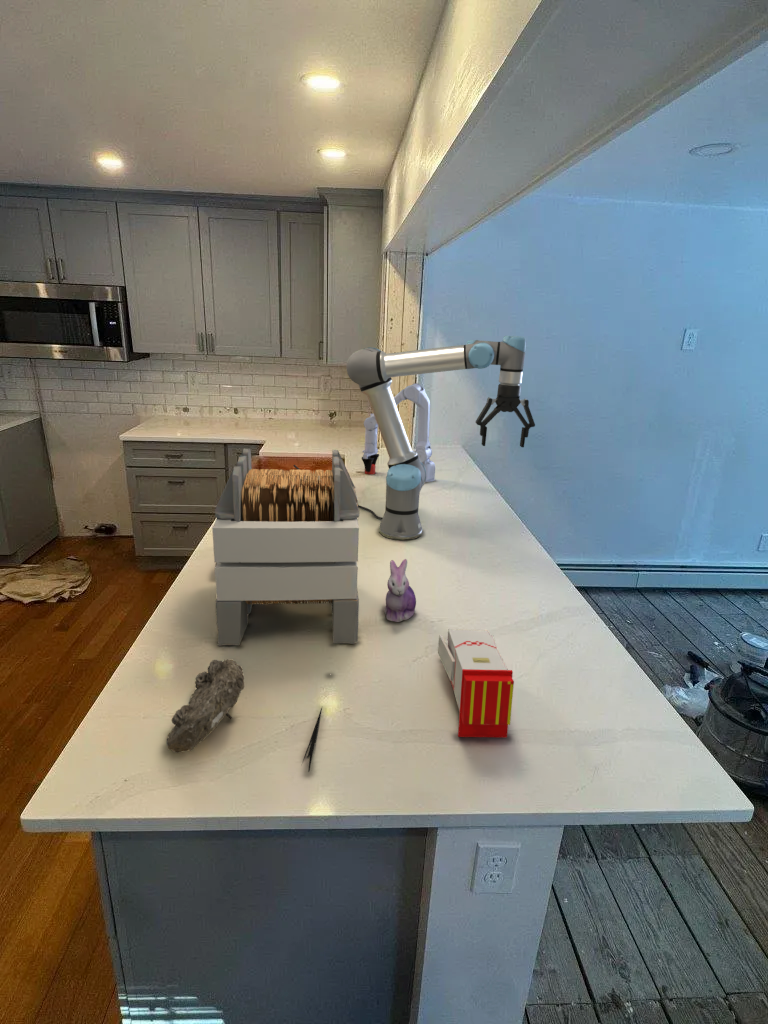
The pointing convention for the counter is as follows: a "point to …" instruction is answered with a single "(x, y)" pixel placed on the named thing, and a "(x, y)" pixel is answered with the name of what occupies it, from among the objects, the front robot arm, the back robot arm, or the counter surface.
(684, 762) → the counter surface
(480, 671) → the toy
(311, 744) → the feather
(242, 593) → the record crate
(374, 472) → the can
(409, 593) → the figurine
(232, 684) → the fossil
